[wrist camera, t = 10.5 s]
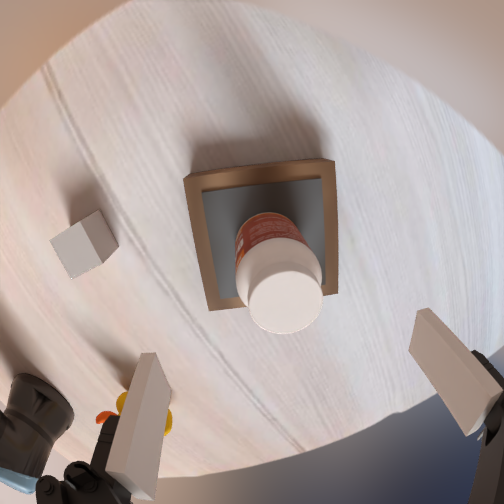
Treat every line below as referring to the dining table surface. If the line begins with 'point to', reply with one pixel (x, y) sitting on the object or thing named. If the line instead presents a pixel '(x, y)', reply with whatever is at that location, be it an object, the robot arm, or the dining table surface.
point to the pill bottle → (277, 274)
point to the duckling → (119, 404)
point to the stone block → (85, 244)
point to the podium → (256, 202)
